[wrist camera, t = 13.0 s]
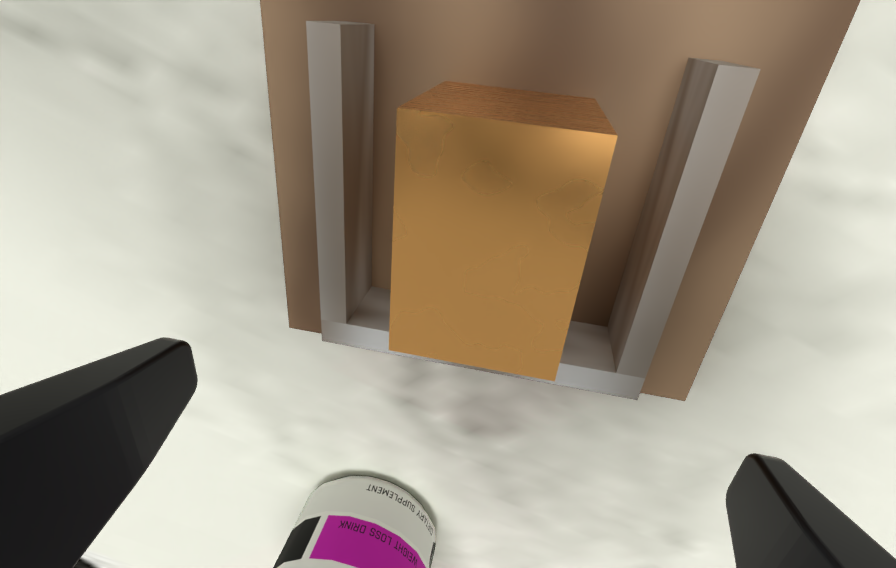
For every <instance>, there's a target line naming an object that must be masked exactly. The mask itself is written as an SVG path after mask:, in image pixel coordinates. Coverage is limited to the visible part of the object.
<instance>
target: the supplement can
mask: <svg viewBox="0 0 896 568" xmlns="http://www.w3.org/2000/svg"><path fill="white" fill-rule="evenodd" d="M435 545H436V534H435V528H434V526H433V524H432V522H431V520H430V518H429V516H428V514H427V513H426V512H425V511H424V509H423V507H422V505H421V504H420V503H419V502H418V501H417V500H416V499H415V498H414V497H413V496H412V495H410V494H409V493H408V492H407V491H405V490H403V489H402V488H400V487H398V486H396V485H394V484H392V483H391V482H388V481H384V480H381V479H377V478H374V477H370V476H348V477H344V478H340V479H337V480H334V481H331V482H327V483H323V484H322V485H321V486H319V487H318V488H317V489H316V490H315V491H313V492H312V493H311V494H310V496H309V498H308V500H307V502H306V504H305V506H304V508H303V510H302V512H301V514H300V516H299V518H298V520H297V522H296V524H295V526H294V528H293V530H292V532H291V534H290V536H289V538H288V540H287V542H286V544H285V546H284V548H283V550H282V552H281V554H280V555H279V557H278V559H277V561H276V563H275V565H274V567H273V568H431V564H432V559H433V555H434V550H435Z"/></svg>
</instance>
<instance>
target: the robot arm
mask: <svg viewBox="0 0 896 568" xmlns="http://www.w3.org/2000/svg"><path fill="white" fill-rule="evenodd" d="M197 380H198V379H197V373H196V369H195V364H194V359H193V355H192V350H191V347H190V345H189V344H188V343H187V342H185V341H182V340H177V339H172V338H159V339H156V340H153V341H150V342H148V343H145V344H142V345H139V346H136V347H134V348H131V349H128V350H125V351H122V352H120V353H117V354H114V355H111V356H108V357H106V358H103V359H100V360H97V361H94V362H92V363H89V364H86V365H83V366H80V367H78V368H75V369H72V370H69V371H66V372H64V373H61V374H58V375H55V376H52V377H50V378H47V379H44V380H41V381H38V382H35V383H33V384H30V385H27V386H24V387H21V388H19V389H16V390H13V391H10V392H7V393H5V394H2V395H0V568H73V567H74V566H75V564H76V563H77V562H78V560H79V559H80V558H81V556H82V555H83V554H84V552H85V551H86V550H87V548H88V547H89V546H90V545H91V543H92V542H93V541H94V539H95V538H96V537H97V535H98V534H99V533H100V531H101V530H102V529H103V527H104V526H105V525H106V523H107V522H108V521H109V519H110V518H111V517H112V515H113V514H114V513H115V511H116V510H117V509H118V507H119V506H120V505H121V504H122V502H123V501H124V500H125V498H126V497H127V496H128V494H129V493H130V492H131V490H132V489H133V488H134V486H135V485H136V484H137V482H138V481H139V479H140V478H141V477H142V475H143V474H144V472H145V471H146V469H147V468H148V466H149V465H150V463H151V462H152V460H153V459H154V457H155V456H156V454H157V452H158V451H159V449H160V448H161V446H162V444H163V443H164V441H165V440H166V438H167V436H168V435H169V433H170V431H171V430H172V428H173V427H174V425H175V423H176V422H177V420H178V418H179V417H180V415H181V414H182V412H183V410H184V409H185V407H186V406H187V404H188V402H189V401H190V399H191V397H192V396H193V394H194V392H195V390H196V387H197ZM726 508H727V514H728V520H729V526H730V532H731V538H732V544H733V550H734V556H735V562H736V568H896V559H895V558H894V557H893V556H892V555H891V554H890V553H888V552H887V551H886V550H885V549H884V548H883V547H882V546H880V545H879V544H878V543H877V542H876V541H875V540H874V539H872V538H871V537H870V536H869V535H868V534H867V533H866V532H865V531H863V530H862V529H861V528H860V527H859V526H858V525H857V524H855V523H854V522H853V521H852V520H851V519H850V518H849V517H848V516H846V515H845V514H844V513H843V512H842V511H841V510H840V509H838V508H837V507H836V506H835V505H834V504H833V503H832V502H830V501H829V500H828V499H827V498H826V497H825V496H824V495H823V494H821V493H820V492H819V491H818V490H817V489H816V488H815V487H813V486H812V485H811V484H810V483H809V482H808V481H807V480H806V479H804V478H803V477H802V476H801V475H800V474H799V473H798V472H796V471H795V470H794V469H793V468H792V467H791V466H790V465H788V464H787V463H786V462H785V461H783V460H782V459H779V458H777V457H772V456H766V455H761V454H756V453H753V454H749V455H748V456H746V458H745V459H744V460H743V462H742V464H741V466H740V468H739V469H738V471H737V473H736V475H735V476H734V478H733V480H732V482H731V484H730V485H729V487H728V490H727V493H726Z"/></svg>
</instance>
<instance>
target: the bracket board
mask: <svg viewBox="0 0 896 568" xmlns="http://www.w3.org/2000/svg"><path fill="white" fill-rule="evenodd" d="M859 2H860V0H260V5H261V16H262V27H263V39H264V50H265V61H266V72H267V83H268V94H269V105H270V117H271V128H272V139H273V150H274V161H275V172H276V183H277V195H278V206H279V217H280V228H281V239H282V250H283V261H284V273H285V284H286V295H287V306H288V317H289V328H295V329H300V330H305V331H311V332H316V333H321V334H322V341H326V342H331V343H336V344H342V345H347V346H352V347H358V348H363V349H368V350H374V351H379V352H384V353H390V354H395V355H400V356H406V357H411V358H416V359H422V360H427V361H432V362H438V363H443V364H448V365H454V366H459V367H464V368H470V369H475V370H480V371H486V372H491V373H496V374H502V375H507V376H512V377H518V378H523V379H528V380H534V381H539V382H545V383H550V384H555V385H561V386H566V387H571V388H577V389H582V390H587V391H593V392H598V393H603V394H609V395H614V396H619V397H625V398H630V399H635V400H637V399H638V397H639V394H640V393H645V394H650V395H656V396H661V397H666V398H672V399H677V400H682V401H685V400H686V397H687V395H688V393H689V390H690V388H691V386H692V384H693V381H694V379H695V377H696V374H697V372H698V370H699V368H700V365H701V363H702V361H703V358H704V356H705V354H706V352H707V349H708V347H709V345H710V342H711V340H712V338H713V336H714V333H715V331H716V329H717V327H718V324H719V322H720V320H721V317H722V315H723V313H724V311H725V308H726V306H727V304H728V301H729V299H730V297H731V295H732V292H733V290H734V288H735V285H736V283H737V281H738V279H739V276H740V274H741V272H742V269H743V267H744V265H745V263H746V260H747V258H748V256H749V253H750V251H751V249H752V247H753V244H754V242H755V240H756V238H757V235H758V233H759V231H760V228H761V226H762V224H763V222H764V219H765V217H766V215H767V212H768V210H769V208H770V206H771V203H772V201H773V199H774V196H775V194H776V192H777V190H778V187H779V185H780V183H781V180H782V178H783V176H784V174H785V171H786V169H787V167H788V164H789V162H790V160H791V158H792V155H793V153H794V151H795V149H796V146H797V144H798V142H799V139H800V137H801V135H802V133H803V130H804V128H805V126H806V123H807V121H808V119H809V117H810V114H811V112H812V110H813V107H814V105H815V103H816V101H817V98H818V96H819V94H820V91H821V89H822V87H823V85H824V82H825V80H826V78H827V76H828V73H829V71H830V69H831V66H832V64H833V62H834V60H835V57H836V55H837V53H838V50H839V48H840V46H841V44H842V41H843V39H844V37H845V34H846V32H847V30H848V28H849V25H850V23H851V21H852V18H853V16H854V14H855V12H856V9H857V7H858V5H859ZM444 81H451V82H460V83H468V84H476V85H485V86H493V87H502V88H510V89H519V90H527V91H535V92H544V93H552V94H561V95H569V96H578V97H586V98H595V99H596V101H597V103H598V104H599V106H600V107H601V109H602V111H603V112H604V114H605V116H606V117H607V119H608V120H609V122H610V124H611V125H612V127H613V129H614V130H615V132H616V133H617V135H618V137H617V141H616V145H615V149H614V153H613V156H612V160H611V164H610V168H609V172H608V176H607V180H606V184H605V188H604V192H603V195H602V199H601V203H600V207H599V211H598V215H597V219H596V223H595V227H594V231H593V234H592V238H591V242H590V246H589V250H588V254H587V258H586V262H585V266H584V270H583V273H582V277H581V281H580V285H579V289H578V293H577V297H576V301H575V305H574V309H573V312H572V316H571V320H570V324H569V328H568V332H567V336H566V340H565V344H564V348H563V352H562V355H561V359H560V363H559V367H558V371H557V375H556V379H555V381H550V380H545V379H539V378H534V377H529V376H523V375H518V374H513V373H507V372H502V371H497V370H491V369H486V368H481V367H475V366H470V365H465V364H459V363H454V362H449V361H443V360H438V359H433V358H427V357H422V356H417V355H411V354H406V353H401V352H395V351H390V350H389V322H390V293H391V264H392V236H393V207H394V178H395V149H396V121H397V107H399V106H401V105H403V104H404V103H406V102H408V101H410V100H412V99H413V98H415V97H417V96H419V95H421V94H422V93H424V92H426V91H428V90H430V89H431V88H433V87H435V86H437V85H439V84H440V83H442V82H444Z"/></svg>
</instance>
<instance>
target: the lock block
mask: <svg viewBox="0 0 896 568" xmlns="http://www.w3.org/2000/svg"><path fill="white" fill-rule="evenodd" d="M617 137H618V135H617V133H616V132H615V130H614V129H613V127H612V125H611V124H610V122H609V120H608V119H607V117H606V116H605V114H604V112H603V111H602V109H601V107H600V106H599V104H598V103H597V101H596V99H595V98H586V97H578V96H569V95H561V94H552V93H544V92H535V91H527V90H519V89H510V88H502V87H493V86H485V85H476V84H468V83H460V82H451V81H444V82H442V83H440V84H439V85H437V86H435V87H433V88H431V89H430V90H428V91H426V92H424V93H422V94H421V95H419V96H417V97H415V98H413V99H412V100H410V101H408V102H406V103H404V104H403V105H401V106H399V107H397V121H396V149H395V178H394V207H393V236H392V264H391V293H390V322H389V350H390V351H395V352H401V353H406V354H411V355H417V356H422V357H427V358H433V359H438V360H443V361H449V362H454V363H459V364H465V365H470V366H475V367H481V368H486V369H491V370H497V371H502V372H507V373H513V374H518V375H523V376H529V377H534V378H539V379H545V380H550V381H555V379H556V375H557V371H558V367H559V363H560V359H561V355H562V352H563V348H564V344H565V340H566V336H567V332H568V328H569V324H570V320H571V316H572V312H573V309H574V305H575V301H576V297H577V293H578V289H579V285H580V281H581V277H582V273H583V270H584V266H585V262H586V258H587V254H588V250H589V246H590V242H591V238H592V234H593V231H594V227H595V223H596V219H597V215H598V211H599V207H600V203H601V199H602V195H603V192H604V188H605V184H606V180H607V176H608V172H609V168H610V164H611V160H612V156H613V153H614V149H615V145H616V141H617Z"/></svg>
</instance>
